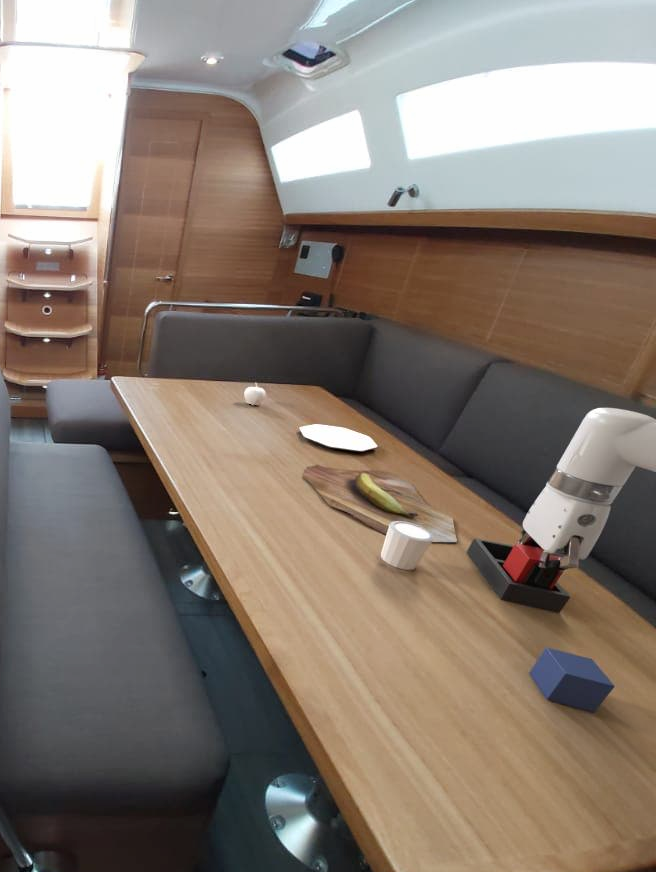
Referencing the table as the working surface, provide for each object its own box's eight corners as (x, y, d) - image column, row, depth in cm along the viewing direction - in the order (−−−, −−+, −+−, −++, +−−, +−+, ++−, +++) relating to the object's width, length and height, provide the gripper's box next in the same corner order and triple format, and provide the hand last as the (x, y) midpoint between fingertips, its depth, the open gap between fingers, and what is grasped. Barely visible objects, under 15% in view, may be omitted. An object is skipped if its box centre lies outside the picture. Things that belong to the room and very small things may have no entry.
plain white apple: (244, 399, 186) (249, 379, 183) (264, 403, 183) (270, 382, 179) (240, 404, 181) (245, 383, 178) (260, 408, 178) (266, 387, 174)
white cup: (425, 575, 92) (440, 544, 89) (383, 566, 94) (396, 536, 91) (412, 554, 98) (426, 524, 95) (372, 547, 100) (384, 517, 97)
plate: (382, 458, 141) (384, 454, 140) (306, 447, 146) (307, 443, 145) (362, 434, 158) (364, 430, 157) (294, 425, 163) (296, 421, 162)
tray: (516, 562, 97) (525, 547, 95) (559, 613, 84) (570, 596, 82) (466, 552, 100) (474, 537, 98) (500, 599, 87) (509, 583, 85)
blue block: (573, 684, 70) (592, 658, 68) (594, 713, 66) (615, 686, 64) (528, 672, 72) (545, 647, 70) (546, 699, 68) (565, 673, 66)
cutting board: (289, 464, 135) (293, 451, 133) (395, 472, 132) (401, 459, 131) (352, 535, 104) (359, 519, 102) (493, 548, 101) (502, 533, 99)
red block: (537, 573, 89) (551, 550, 87) (551, 589, 84) (567, 566, 82) (502, 565, 90) (515, 542, 88) (515, 581, 86) (529, 558, 84)
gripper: (651, 516, 71) (583, 613, 79) (582, 469, 85) (530, 555, 93) (583, 504, 73) (523, 600, 81) (527, 460, 88) (481, 545, 96)
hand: (527, 575), depth 87 cm, fingers closed on red block, 5 cm apart
